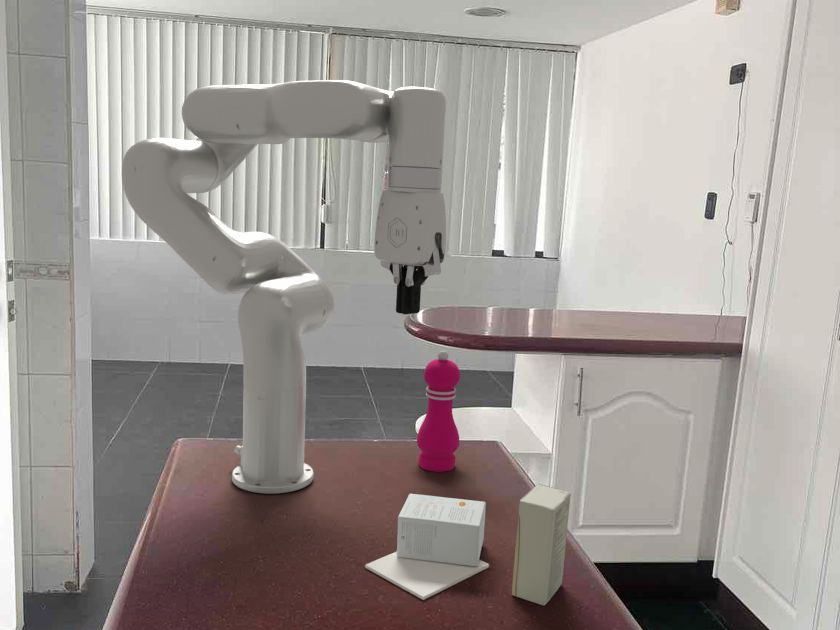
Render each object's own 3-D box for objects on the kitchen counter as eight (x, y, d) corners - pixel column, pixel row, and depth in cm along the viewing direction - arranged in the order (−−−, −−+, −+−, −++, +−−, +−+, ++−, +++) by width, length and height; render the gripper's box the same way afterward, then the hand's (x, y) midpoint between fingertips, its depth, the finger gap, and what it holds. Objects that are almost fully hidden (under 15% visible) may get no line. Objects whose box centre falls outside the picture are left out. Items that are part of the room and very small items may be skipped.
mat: (365, 567, 98) (365, 564, 98) (431, 539, 107) (431, 536, 107) (423, 600, 91) (423, 596, 91) (488, 567, 100) (489, 564, 100)
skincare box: (529, 574, 98) (537, 482, 96) (563, 585, 96) (572, 490, 94) (510, 596, 93) (517, 499, 91) (545, 608, 91) (554, 508, 89)
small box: (394, 557, 100) (477, 568, 98) (397, 515, 99) (480, 526, 97) (407, 530, 108) (484, 540, 106) (409, 492, 107) (486, 501, 105)
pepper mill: (410, 459, 136) (416, 346, 133) (449, 456, 139) (456, 345, 135) (422, 474, 130) (429, 355, 126) (464, 471, 132) (471, 354, 128)
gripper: (357, 178, 111) (352, 307, 114) (435, 182, 101) (427, 324, 104) (395, 179, 116) (390, 303, 119) (473, 184, 106) (465, 319, 109)
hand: (407, 312), depth 112 cm, fingers closed
